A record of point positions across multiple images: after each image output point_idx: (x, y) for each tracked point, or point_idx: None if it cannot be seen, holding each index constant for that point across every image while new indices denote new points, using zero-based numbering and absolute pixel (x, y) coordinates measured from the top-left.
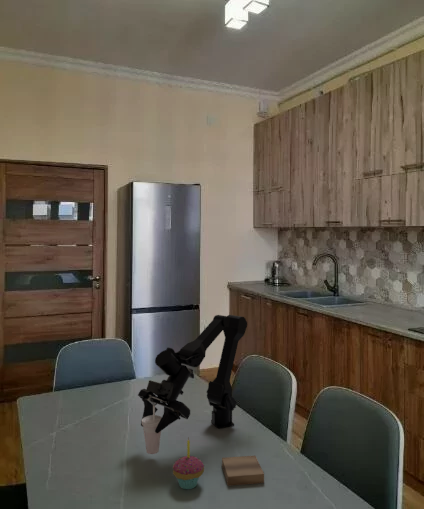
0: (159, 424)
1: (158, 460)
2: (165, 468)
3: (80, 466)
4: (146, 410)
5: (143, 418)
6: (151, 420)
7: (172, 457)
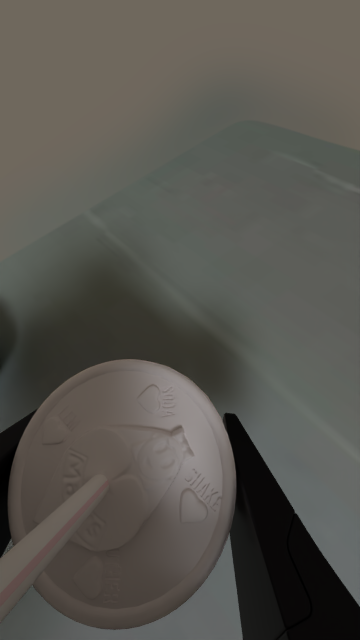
0: (4, 437)
1: None
2: None
3: (316, 245)
4: (277, 574)
5: (216, 431)
6: (100, 436)
7: None
